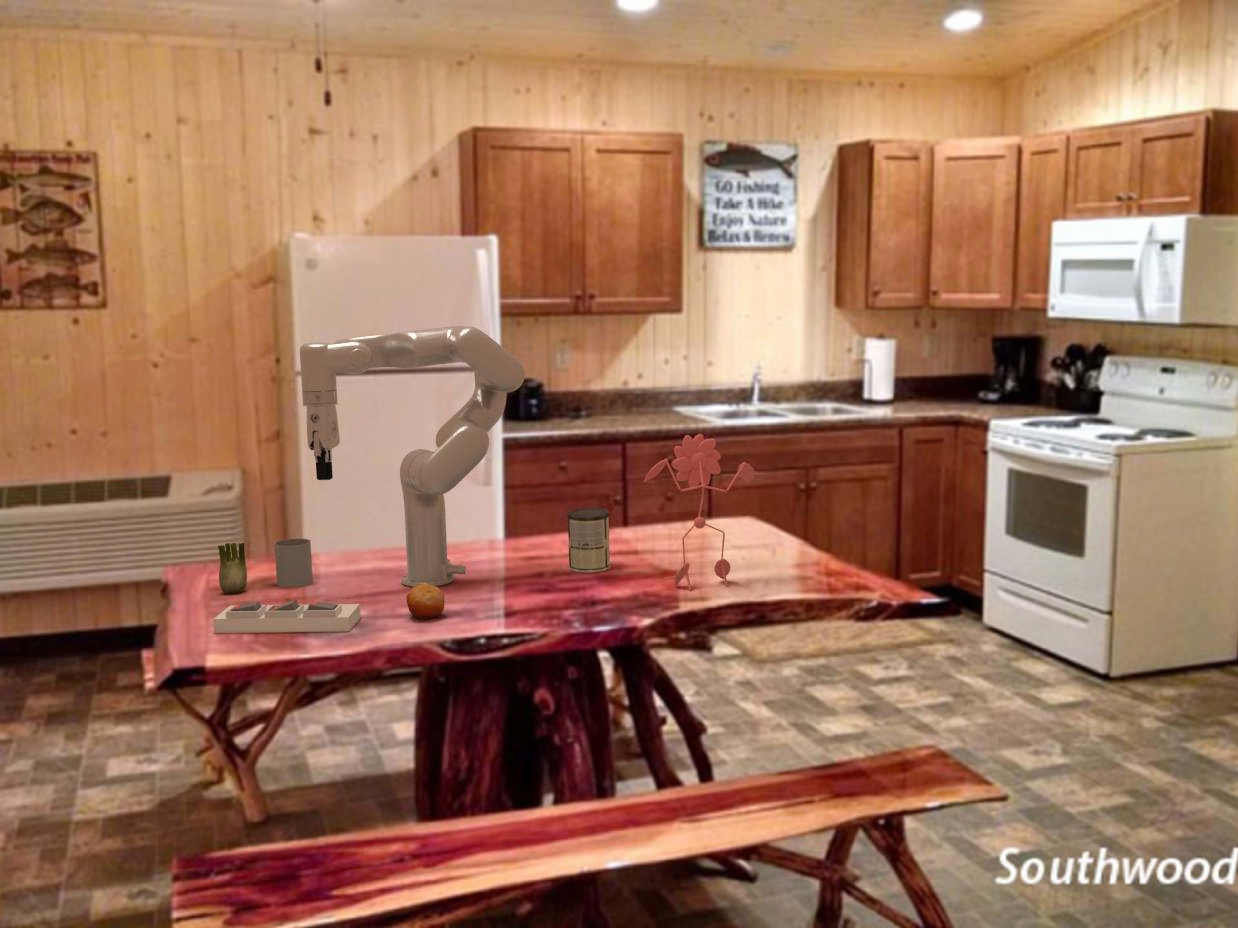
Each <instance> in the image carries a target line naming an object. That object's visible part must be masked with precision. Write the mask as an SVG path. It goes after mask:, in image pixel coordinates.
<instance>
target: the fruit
mask: <svg viewBox="0 0 1238 928" xmlns="http://www.w3.org/2000/svg"><path fill="white" fill-rule="evenodd" d="M405 598H406V599H405V600H406V605H407V608H408V611H409V612H410V616H411V615H412V616H413V617H415V618H417V619H419V620H421V621H423V620H422V619H425V620H427V619H432V618H435V617H438V616H440V615H441V614H442V613H443V612H444V611H445V610H444V609H445V594H444V592H443V591H442V590H440V588H439V586H432V585H429V584H426V583H424V584H420V585H417V586H415V587H411V589H410V590H409V591H408V593H407V594H406V597H405Z"/></svg>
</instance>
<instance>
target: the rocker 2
mask: <svg viewBox="0 0 1238 928" xmlns="http://www.w3.org/2000/svg"><path fill="white" fill-rule="evenodd" d="M337 604H338V603H329V602H323V601H317V600H312V601H311V602H310V603H309V604H308V605H309V607H308V610H334V609H335V608H336V606H337Z"/></svg>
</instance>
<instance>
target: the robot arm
mask: <svg viewBox="0 0 1238 928" xmlns="http://www.w3.org/2000/svg"><path fill="white" fill-rule="evenodd" d="M299 362H300V378H301V379H300V380H301V395H302V406H303V407H306V437H307V438H306V439H307V447H308V449H309V450H310V451H313V456H314V459H315V471H316V475H315V476H316V480H318V481H330V480H332V479H333V462H332V459H333V457H332V456H333V455H332V450H333V449H334V448H336V447H338V446H339V445H340V442H341V440H340V431H339V421H338V413H337V405H338V389H337V374H343V375H360V374H363V373H365V372H366V371H368V370H369V369H377V368H378V369H379V368H396V369H415V368H417V369H418V368H424V367H431V366H438V365H439V366H440V365H446V364H448V365H449V364H454V363H465V364H467V365H468V366H469V367H470V368H471V369H473V371H474V375H473V376H474V390H473V393H472V396H471V397H470V399H469V400H468V401H466V403H465V404H464V405H463V406H462V407H461V408H460V409H459V410H457V412H455V414H454V415H452V416H451V417H450V419H448V420H447V421H446V422H445V423H444V424H442V426H441V427H440V428H439V429H438V431H437V432H436V434H435V445H436V448H437V449H435V451H431V450H429V449H423V448H420V449H419V448H418V449H414V450H411V451H409V452H408V453H407V454H406V455H405V456H404V458H402V461H401V463H400V467H399V479H400V485H401V491H402V495H403V496H402V498H403V505H404V506H403V507H404V527H405V528H404V529H405V530H404V531H405V547H406V548H405V549H406V568H407V569H406V570H407V573H405V574H404V575H402V576H401V578H400V579H401V580H400V581H401V584H403V585H405V586H407V587H411V588H413V587H415V586H417V585H420V584H424V583H426V584H429V585H432V586H436V587H439V586H444V585H448V584H450V583H452V582H454V581H455V579H456V578H455V576H456V575H466V574H467V567H466V565H463V564H453V563H451V559H448V546H447V544H448V543H447V523H446V522H447V521H446V520H447V519H446V503H445V496H444V495H445V494H446V493H448V492H450V491H451V490H453V489H454V488H455V487H456V486H457V485H458V484H459V483H460V482H461V481H463V479H464V478H466V476H468V474H470V473H471V472H472V471H473V469H475V468H476V467H477V466H478V465H479V464H480V463H481V461H482V460H483V459H484V458H485V456H486V454H487V453H488V450H489V448H490V437H489V434H488V433H489V432H490V431H491V429H493V427H494V426H495V425H496V424H497V423H498V422H499V420H500V419H502V416H503V414H504V411H505V408H506V403H507V393H512V392H515V391H517V390H518V389H520V387H521V386H522V385H523V383H524V381H525V377H526V376H525V375H526V374H525V373H526V372H525V369H524V368H525V367H524V366H523V364H522V362H521V360H519V359H518V358H517V357H515V355H513V354H512V353H510V352H509V351H508V350H507V349H505V348H504V347H503V346H502V345H501V344H499V343H498V342H497V341H495V340H494V339H493V338H492V337H491V336H489V335H488V334H487V333H485V332H484V331H483V330H481V329H479V328H477V327H474V326H464V325H453V326H445V327H443V326H442V327H436V328H427V329H419V330H409V331H408V330H407V331H401V332H394V333H389V334H388V333H387V334H379V335H369V336H360V337H351V338H342V339H338V340H336V341H334V342H333V343H329V342H307V343H304V344H302V345H301V346H300V348H299Z"/></svg>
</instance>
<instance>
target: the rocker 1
mask: <svg viewBox="0 0 1238 928" xmlns="http://www.w3.org/2000/svg"><path fill="white" fill-rule="evenodd" d="M236 605H237V604H236ZM260 605H261V602H260V601H254V602H250V603H244V604H243V603H242V604H238V605H237V606H235V607H234V608H233V609H232V610H231V611H257V610H258V609H259V608H260V607H261V606H260Z"/></svg>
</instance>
